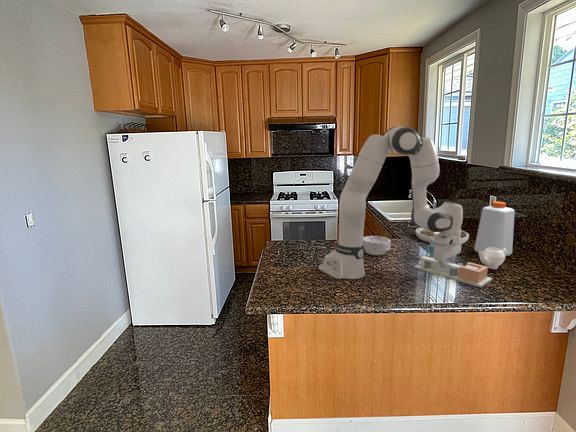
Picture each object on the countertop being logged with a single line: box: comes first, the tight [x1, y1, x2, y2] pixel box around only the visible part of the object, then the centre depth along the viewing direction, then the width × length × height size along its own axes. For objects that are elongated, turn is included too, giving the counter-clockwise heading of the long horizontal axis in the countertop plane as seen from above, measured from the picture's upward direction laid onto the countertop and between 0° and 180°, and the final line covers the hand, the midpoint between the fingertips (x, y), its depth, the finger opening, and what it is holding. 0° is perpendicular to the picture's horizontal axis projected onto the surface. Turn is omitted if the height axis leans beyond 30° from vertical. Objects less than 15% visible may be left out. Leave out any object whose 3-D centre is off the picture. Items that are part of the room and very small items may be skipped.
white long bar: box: [419, 255, 479, 275], centre depth 157 cm, size 25×4×4 cm, turn 41°
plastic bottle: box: [473, 201, 515, 257], centre depth 183 cm, size 15×15×28 cm
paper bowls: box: [363, 235, 391, 256], centre depth 186 cm, size 15×15×8 cm
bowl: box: [415, 227, 470, 245], centre depth 211 cm, size 30×30×8 cm
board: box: [414, 257, 493, 289], centre depth 156 cm, size 30×12×6 cm, turn 41°
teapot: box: [478, 247, 508, 270], centre depth 163 cm, size 10×20×9 cm, turn 112°
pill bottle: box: [428, 232, 439, 258], centre depth 176 cm, size 8×7×14 cm
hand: (446, 266), depth 158 cm, fingers open, 8 cm apart
